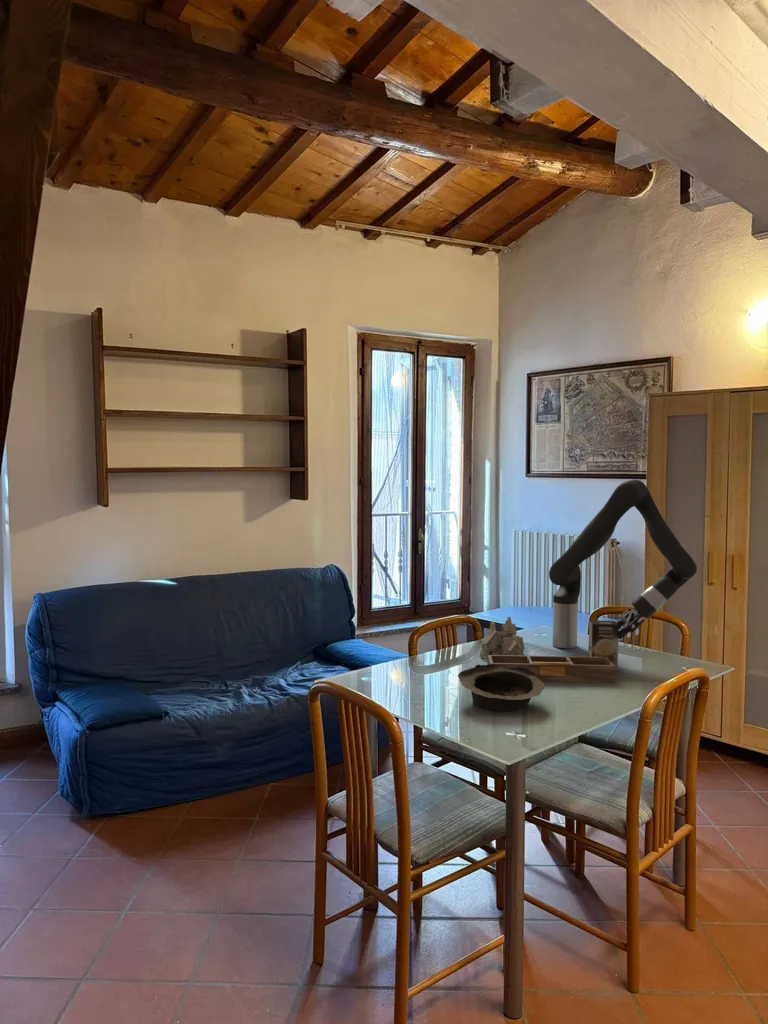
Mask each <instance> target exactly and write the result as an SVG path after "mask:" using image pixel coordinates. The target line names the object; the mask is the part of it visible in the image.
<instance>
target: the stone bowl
mask: <svg viewBox="0 0 768 1024" xmlns="http://www.w3.org/2000/svg"><path fill="white" fill-rule="evenodd" d="M457 678H458V679H459V682H460V683H461V686H462V687H464V688H465V689H467V690H469V691H470V693H471V698H472V701H473V703H474V704H475V705H476V706H478V707H479V708H483V709H484V708H485V709H488V710H492V711H493V712H496V713H497V712H499V713H500V712H509V711H510V712H515V711H517V710H518V709H520V708H523V707H525V706H526V705H528V704H529V703H530V701H531V699H532V698H535V697H538V696H540V695H541V694H542V692H543V690H545V689H546V688H545V684H544V681H540V680H539V679H538V678H536V675H535V673H534V672H532V671H530V670H528V669H527V668H522V667H517V668H516V667H514V668H504V667H500V666H496V665H495V666H494V665H493V664H492V665H489V664H488V663H487V664H485V665H484V664H479V663H478V664H477V665H474V667H470V668H467V669H465V670H462V671H460V672H459V673H458V675H457Z"/></svg>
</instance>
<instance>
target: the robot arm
mask: <svg viewBox="0 0 768 1024" xmlns="http://www.w3.org/2000/svg"><path fill="white" fill-rule="evenodd" d="M632 508H635V509H636V510H637V511H638V512H639V513H640V515H641V516H642V519H643V520H644V522H645V525H646V527H647V528H646V529H647V531H648V533H649V537H650V538H651V541H652V543H654V545H655V546H656V548H657V550H658V551H659V552H660V554H661V555H662V556H663V557H664V558H666V560H667V561H668V563H669V565H671V567H670V568H669V569H668V570H667V572H666V573H665V574H663V575H662V576H660V577H659V578H658V579H656V581H654V582H653V583H652V585H650V586H649V587H648V588H646V589H645V590H643V592H642V593H641V594H640V595H639V596H637V598H635V600H633V602H631V606H633V608H632V609H631V608H630V607H628V608H627V609H626V610H624V612H623V613H622V614H620V615H619V616H617V618H616V620H617V621H616V622H617V623H618V624H619V632H618V633H617V634H616V636H617V637H618V638H619V640H622V639H623V638H624V637H625V636H626V635H627V634H630V633H634V632H635V631H636V630H637V629H638V628H639V627H640V626H641V625H642V624H644V623H645V619H646V620H649V619H650V618H651V617H652V616H653V615H654V614H656V613H657V612H658V611H659V610H660V609H661V608H662V607H663V606H664V605H665V604H666V602H668V600H669V599H670V598H672V596H674V594H675V593H676V592H677V591H678V590H679V589H680V587H681V588H682V586H683V585H685V584H686V583H687V582H688V581H689V580H690V579H692V578H693V577H694V576H695V575H696V573H697V569H698V567H697V563H696V562H695V561H694V559H693V558H692V556H691V555H690V554H689V553H688V552H687V550H686V549H685V548H684V547H683V546H682V545H681V543H680V541H679V539H678V538H677V537H676V536H675V534H674V533H673V531H672V530H671V528H670V527H669V525H668V524H667V523H666V521H665V519H664V518H663V516H662V514H661V512H660V511H659V509H658V507H657V505H656V502H655V501H654V499H653V496H652V495H651V493H650V490H649V488H648V487H647V485H646V483H645V482H643V481H641V480H639V479H631V480H626V481H623V482H621V483H619V484H618V485H617V486H616V488H615V489H614V490H613V492H612V493H611V495H610V497H609V498H608V500H607V502H606V503H605V504H604V506H603V507H602V508H601V509H600V510H599V511H598V512H597V513H596V515H594V517H593V518H592V520H590V521H589V523H587V525H586V526H585V527H584V529H583V530H582V531H581V533H580V534H579V535H578V536H577V537H576V539H575V540H574V541H573V543H572V544H571V545H570V546H569V548H568V549H567V550H566V551H565V552H564V553H563V554H562V555H561V556H560V557H559V558H558V559H556V561H554V563H552V564H551V567H550V568H549V572H548V577H549V580H550V582H551V583H552V584H554V585H556V586H559V587H558V589H557V591H556V592H555V593H554V594H553V595H552V596H553V597H552V646H553V647H555V648H559V649H575V648H577V646H578V607H579V605H578V602H579V601H578V599H579V597H580V593H581V579H582V578H581V577H582V573H581V567H580V565H581V564H582V563H584V562H585V561H586V560H587V559H589V558H591V557H592V556H593V555H595V554H596V553H598V552H599V551H600V550H601V549H602V548H603V547H604V546H605V545H606V543H607V542H608V541H609V540H610V538H612V536H613V533H614V532H615V529H616V527H617V524H618V522H619V521H620V520H621V518H622V517H624V515H625V514H626V513H627V512H628V511H630V509H632ZM643 617H644V618H643Z"/></svg>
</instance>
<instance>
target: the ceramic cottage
mask: <svg viewBox="0 0 768 1024" xmlns="http://www.w3.org/2000/svg"><path fill="white" fill-rule="evenodd" d="M500 630H501V631H500V632H498V631H497V627H496V622H493V621H492V622H490V627H489V631H488V633H487V634H486V635H485V637H484V638H482V640H481V643H482V644H481V650H480V653H479V655H480V656H479V658H480V657H481V658H480V659H482V658H483V659H482V660H484V659H486V660H485V661H488V655H519V656H526V655H525V654H524V652H525V644H524V638H523V636H520V635H517V634H518V632H517V626H516V623H512V617H511V616H507V619H505V623H504V622H503V623H501V629H500Z"/></svg>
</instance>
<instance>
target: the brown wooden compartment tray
mask: <svg viewBox="0 0 768 1024" xmlns="http://www.w3.org/2000/svg"><path fill="white" fill-rule="evenodd" d="M488 664H489V665H492V664H493V665H494V666H495V665H496V666H500V667H504V668H514V667H516V668H517V667H522V668H527V669H528V670H530V671H532V672H534V673H535V675H536V678H538V679H539V680H540V681H541V682H553V683H554V682H555V683H556V682H561V683H562V682H563V683H564V682H567V683H602V684H603V683H605V684H606V683H608V684H609V683H610V684H611V683H612V684H615V683H616V670H615V665H614V664H613V663H612V662H611V661H610V659H609V658H608V657H588V656H571V655H570V656H568V655H567V656H563V655H562V656H559V655H525V656H519V655H488V660H487V665H488Z"/></svg>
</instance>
